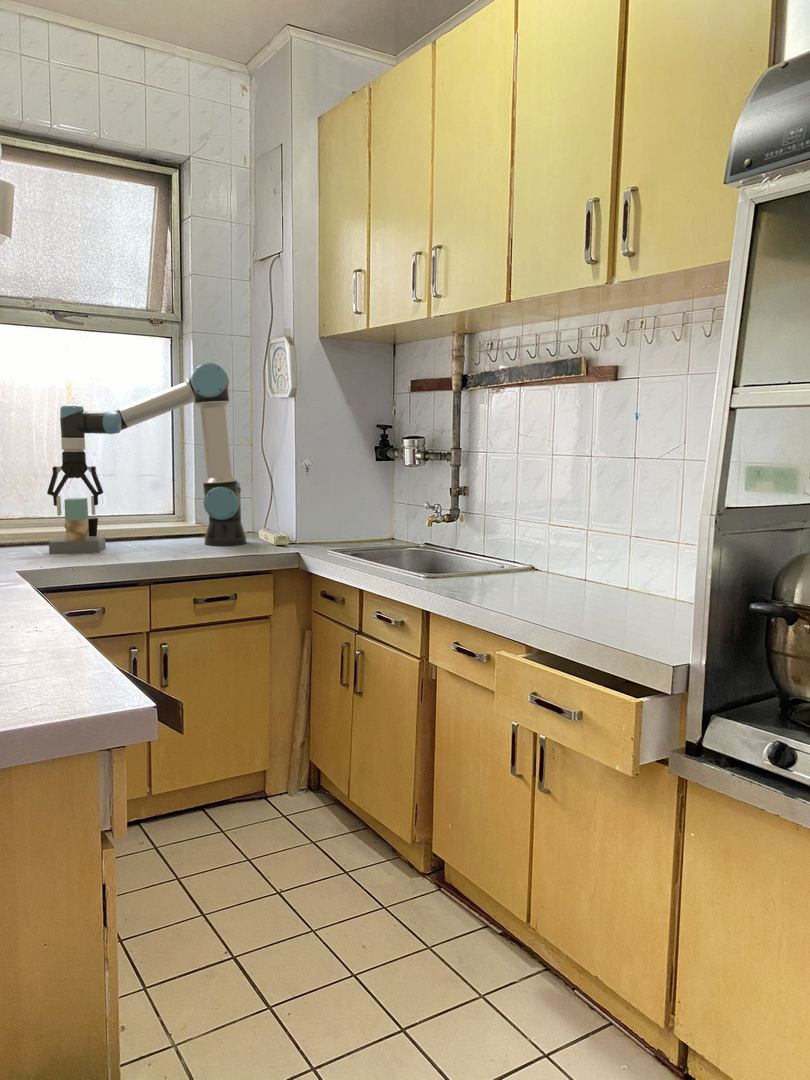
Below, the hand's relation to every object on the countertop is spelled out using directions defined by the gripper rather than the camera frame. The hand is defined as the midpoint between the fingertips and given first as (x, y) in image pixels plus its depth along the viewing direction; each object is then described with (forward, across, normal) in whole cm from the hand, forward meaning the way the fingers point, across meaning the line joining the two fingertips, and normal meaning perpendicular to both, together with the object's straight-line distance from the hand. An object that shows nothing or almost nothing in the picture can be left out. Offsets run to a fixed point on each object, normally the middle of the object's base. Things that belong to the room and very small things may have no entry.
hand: (76, 515), depth 285 cm
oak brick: (+8, 0, 0) cm, 8 cm away
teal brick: (+1, 0, 0) cm, 1 cm away
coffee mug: (+13, +1, -15) cm, 19 cm away
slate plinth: (+12, 0, 0) cm, 12 cm away
